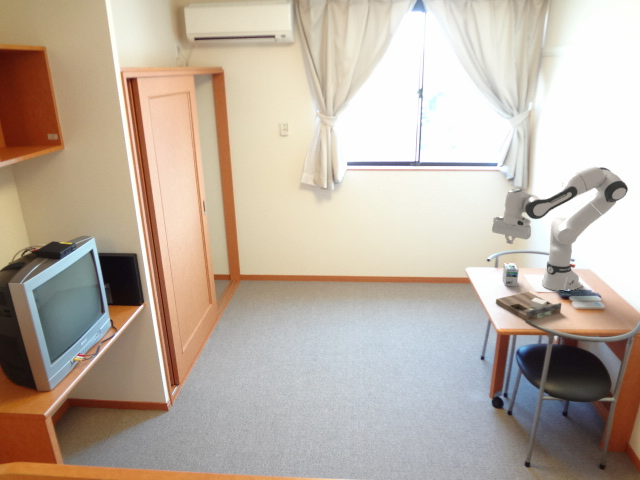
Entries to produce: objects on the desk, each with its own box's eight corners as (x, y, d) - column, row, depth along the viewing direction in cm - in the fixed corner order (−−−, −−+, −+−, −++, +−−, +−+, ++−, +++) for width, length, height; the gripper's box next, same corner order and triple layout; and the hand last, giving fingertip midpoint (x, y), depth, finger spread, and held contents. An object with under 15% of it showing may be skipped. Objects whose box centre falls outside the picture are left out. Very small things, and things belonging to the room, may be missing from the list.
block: (534, 303, 247) (535, 297, 246) (546, 307, 243) (547, 301, 242) (530, 306, 244) (531, 300, 243) (541, 310, 240) (542, 304, 239)
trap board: (527, 295, 262) (528, 287, 260) (560, 312, 242) (561, 303, 241) (495, 303, 254) (496, 294, 252) (527, 321, 235) (528, 312, 233)
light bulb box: (517, 286, 273) (519, 269, 270) (504, 286, 275) (506, 268, 271) (513, 279, 283) (515, 262, 280) (501, 278, 285) (503, 262, 281)
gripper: (491, 216, 258) (488, 240, 263) (528, 223, 244) (525, 249, 249) (496, 214, 262) (494, 238, 267) (533, 221, 248) (530, 246, 253)
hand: (509, 243), depth 258 cm, fingers closed
